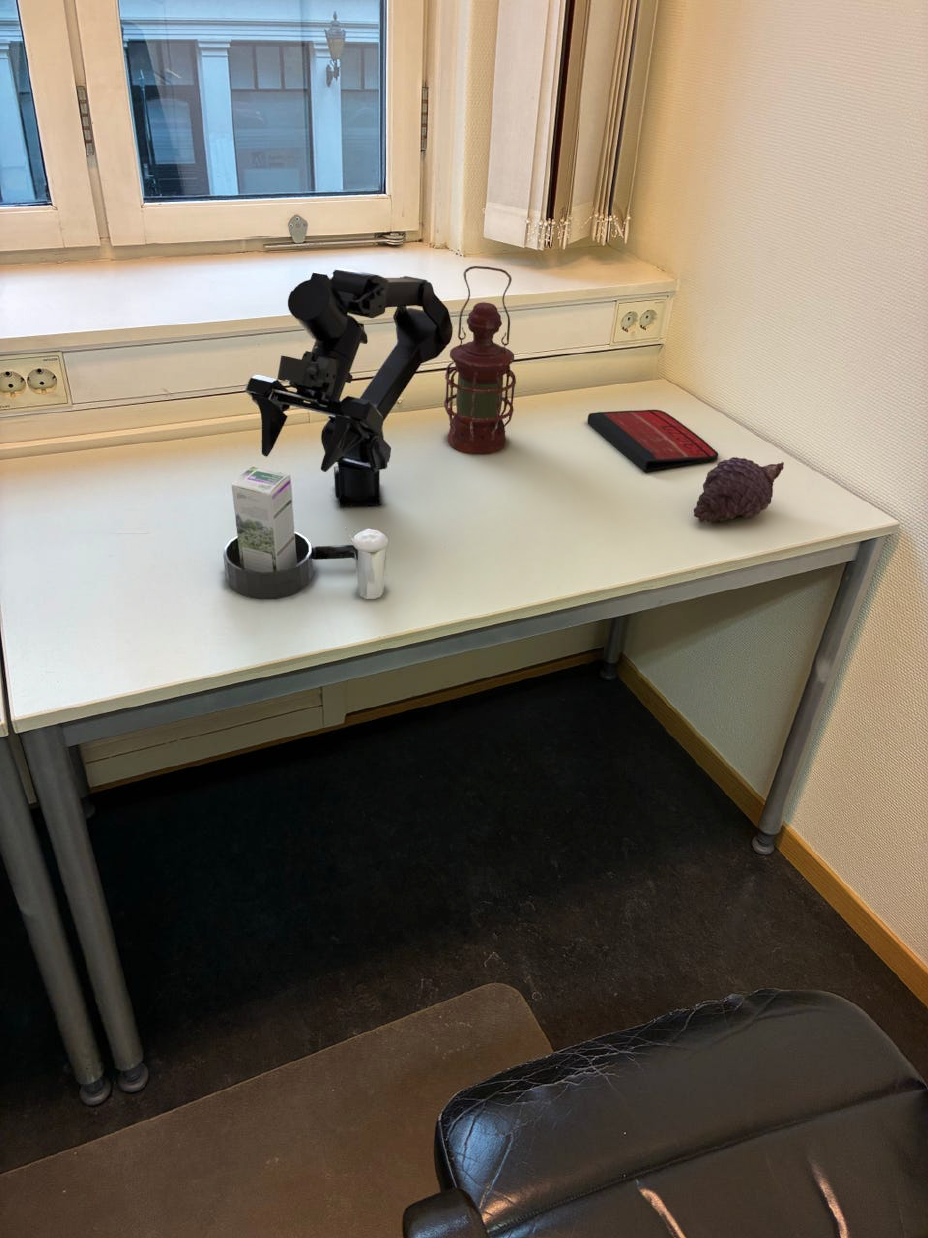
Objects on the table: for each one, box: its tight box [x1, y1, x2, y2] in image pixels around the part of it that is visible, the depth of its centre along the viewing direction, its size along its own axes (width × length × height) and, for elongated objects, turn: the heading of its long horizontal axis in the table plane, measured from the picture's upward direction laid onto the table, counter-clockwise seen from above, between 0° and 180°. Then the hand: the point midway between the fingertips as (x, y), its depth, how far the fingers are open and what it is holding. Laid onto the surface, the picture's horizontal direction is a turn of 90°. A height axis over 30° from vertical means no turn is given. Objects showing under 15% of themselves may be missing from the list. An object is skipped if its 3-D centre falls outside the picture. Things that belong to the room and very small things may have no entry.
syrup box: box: [231, 466, 297, 572], centre depth 121 cm, size 6×6×14 cm
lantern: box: [443, 265, 517, 455], centre depth 154 cm, size 12×12×30 cm
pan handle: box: [312, 544, 355, 561], centre depth 125 cm, size 10×2×2 cm, turn 99°
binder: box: [586, 409, 719, 473], centre depth 166 cm, size 16×2×21 cm
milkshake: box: [345, 527, 389, 600], centre depth 120 cm, size 4×5×10 cm
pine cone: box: [693, 456, 785, 523], centre depth 144 cm, size 18×10×10 cm
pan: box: [222, 531, 314, 600], centre depth 125 cm, size 12×12×4 cm
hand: (293, 463), depth 123 cm, fingers open, 9 cm apart
